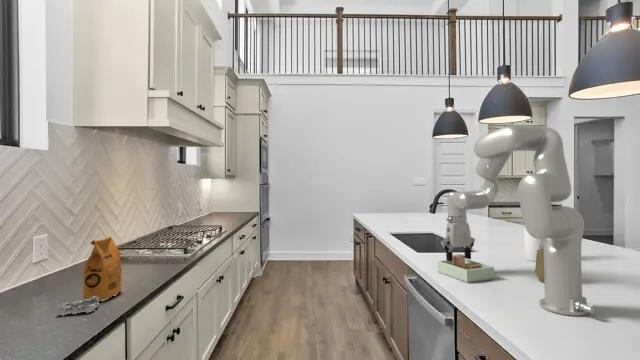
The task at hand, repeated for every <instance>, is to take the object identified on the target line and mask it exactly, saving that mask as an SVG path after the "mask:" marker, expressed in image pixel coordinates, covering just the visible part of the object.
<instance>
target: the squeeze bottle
mask: <svg viewBox="0 0 640 360" xmlns="http://www.w3.org/2000/svg"><path fill="white" fill-rule="evenodd" d="M545 241H546V239H544V240H543V244H540V249H539V250H537V256H536V262H535V270H534V271H535V275H536V277H537V279H538V281H540V282H541V283H545V282H544V245H545Z"/></svg>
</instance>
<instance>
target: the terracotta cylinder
mask: <svg viewBox="0 0 640 360" xmlns="http://www.w3.org/2000/svg"><path fill="white" fill-rule="evenodd" d="M465 259H466V258H465V254H458V253H457V254H453V261H452V265H454V266H457V267H460V268H463V264H465Z"/></svg>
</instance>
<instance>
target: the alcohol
mask: <svg viewBox="0 0 640 360" xmlns="http://www.w3.org/2000/svg"><path fill="white" fill-rule="evenodd" d="M523 235H524V236H523V239H524V241H523V242H524V243H523V245H524V259H525V260H526V261H527V262H531V263H536V256H537V250H539V249H540V244H543V240H544V239H537V238H534V237H532V236H531V235H530V234H529V233H528V232H527V230H526V228H525V226H524V225H523Z"/></svg>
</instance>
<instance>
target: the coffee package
mask: <svg viewBox="0 0 640 360" xmlns="http://www.w3.org/2000/svg"><path fill="white" fill-rule="evenodd" d="M90 245H93V246H94V247H93V248H92V250H91V254H90V255H89V256H88V258H87V260H86V262H85V263H84V267H83V270H82V279H83V280H82V281H83V287H82V288H83V292H82V293H83V294H82V295H83V296H82V298H83V300H85V299H90V297H93V296H100V298H99V299H98V300H102V299H107V298H109V297H111V296H113V295H115V294H118V293H119V292H120V291H121V292H122V262H121V261H122V259H121V253H120V250H119V248H118V246H117V245H116V243H115V241H114V239H113V238H112V236H110V235H109V236H106V238H103V239H95V240H94V239H92V241H91V242H90ZM121 292H120V293H121ZM120 293H119V294H120ZM119 294H118V295H119ZM111 298H112V297H111Z"/></svg>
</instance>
